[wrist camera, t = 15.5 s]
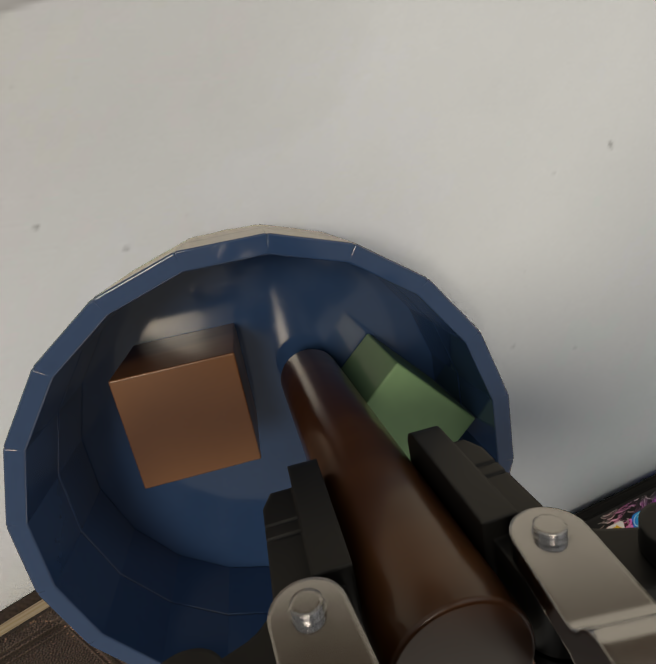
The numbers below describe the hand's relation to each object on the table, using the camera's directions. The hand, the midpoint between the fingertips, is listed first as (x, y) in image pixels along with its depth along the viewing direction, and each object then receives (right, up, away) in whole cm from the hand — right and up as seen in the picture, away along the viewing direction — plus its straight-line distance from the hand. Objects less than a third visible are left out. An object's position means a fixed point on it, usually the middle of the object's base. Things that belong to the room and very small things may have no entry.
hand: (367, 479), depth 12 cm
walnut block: (-6, +2, +8) cm, 10 cm away
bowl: (-4, 0, +10) cm, 10 cm away
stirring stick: (-2, +2, +8) cm, 8 cm away
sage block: (+1, +1, +10) cm, 10 cm away
